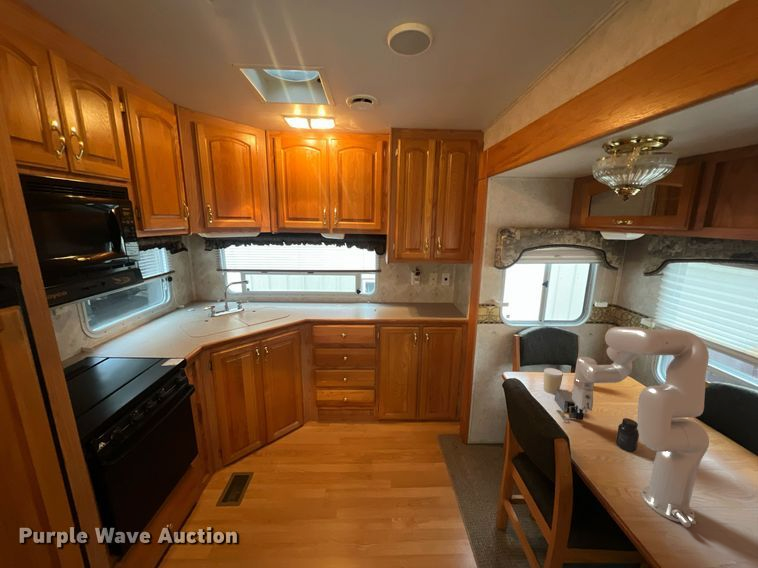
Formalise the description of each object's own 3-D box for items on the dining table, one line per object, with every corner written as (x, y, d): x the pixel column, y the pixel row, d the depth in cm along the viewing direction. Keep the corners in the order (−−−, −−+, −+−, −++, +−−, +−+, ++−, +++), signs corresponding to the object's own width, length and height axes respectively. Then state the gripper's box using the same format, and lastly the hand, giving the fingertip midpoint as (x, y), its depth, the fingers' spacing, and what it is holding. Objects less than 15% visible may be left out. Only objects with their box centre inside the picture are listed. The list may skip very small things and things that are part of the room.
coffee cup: (564, 395, 161) (566, 375, 159) (547, 395, 161) (550, 375, 159) (554, 386, 170) (556, 367, 168) (538, 386, 170) (540, 367, 168)
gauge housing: (584, 424, 136) (586, 412, 135) (563, 422, 138) (564, 410, 137) (566, 401, 155) (567, 390, 154) (547, 399, 157) (549, 388, 156)
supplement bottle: (640, 453, 118) (645, 428, 116) (621, 451, 120) (626, 425, 118) (629, 442, 125) (634, 417, 123) (611, 439, 126) (616, 415, 124)
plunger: (581, 419, 139) (582, 408, 138) (562, 417, 140) (563, 406, 139) (570, 406, 149) (572, 395, 148) (553, 404, 151) (554, 393, 150)
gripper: (601, 393, 125) (595, 430, 129) (584, 376, 140) (579, 410, 143) (582, 391, 127) (577, 428, 130) (567, 374, 141) (563, 408, 144)
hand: (578, 418), depth 136 cm, fingers closed
